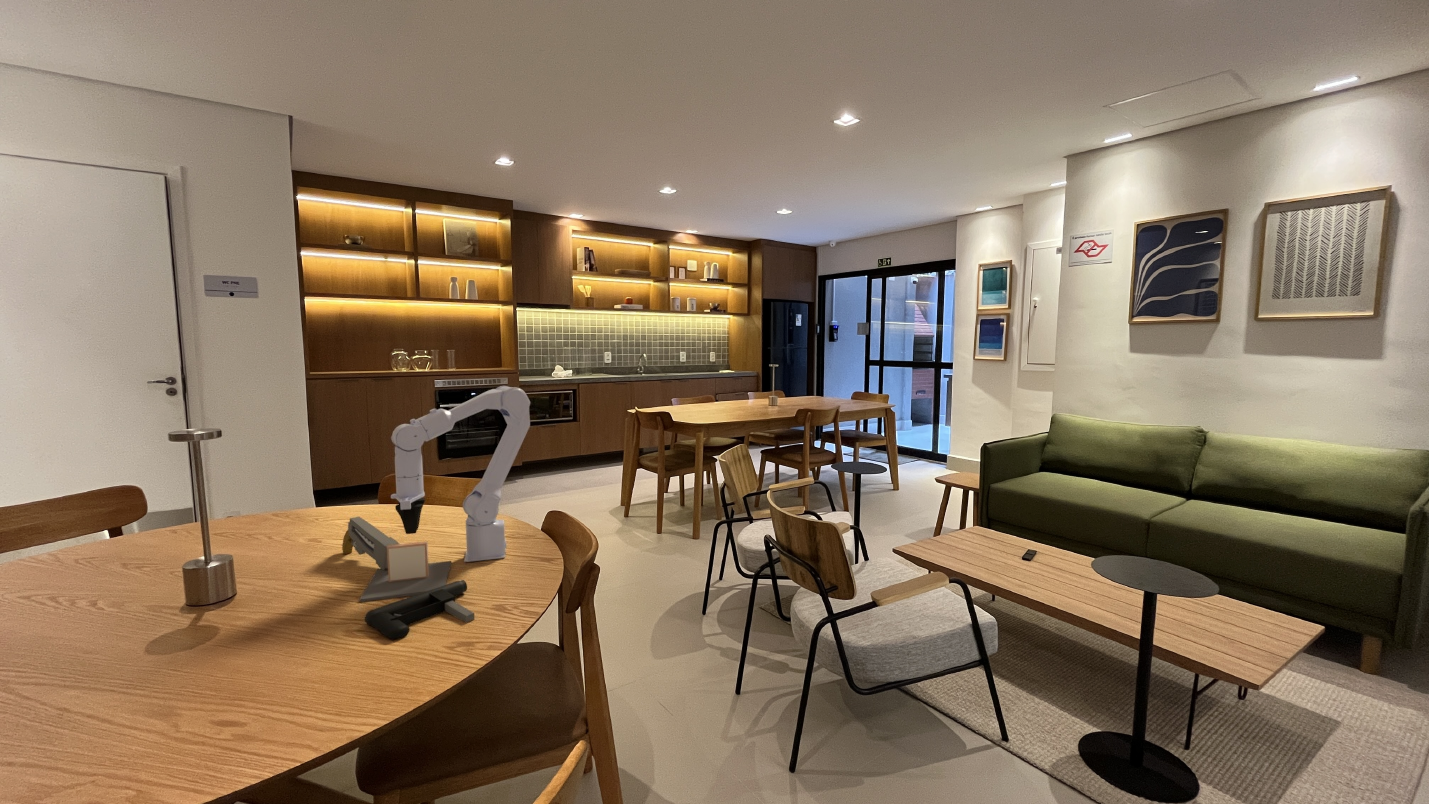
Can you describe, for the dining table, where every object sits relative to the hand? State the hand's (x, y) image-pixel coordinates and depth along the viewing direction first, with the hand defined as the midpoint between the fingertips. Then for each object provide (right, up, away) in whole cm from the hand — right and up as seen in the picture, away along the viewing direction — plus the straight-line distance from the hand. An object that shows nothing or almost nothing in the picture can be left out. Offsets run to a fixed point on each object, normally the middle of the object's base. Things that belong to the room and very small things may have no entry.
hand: (412, 531), depth 139 cm
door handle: (+16, -12, -23) cm, 31 cm away
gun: (-13, -9, +6) cm, 17 cm away
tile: (+2, -9, -6) cm, 11 cm away
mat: (+2, -10, -6) cm, 12 cm away
